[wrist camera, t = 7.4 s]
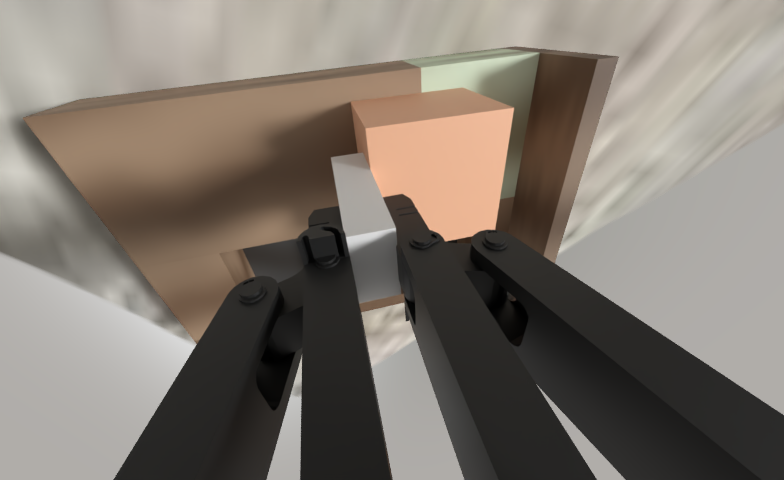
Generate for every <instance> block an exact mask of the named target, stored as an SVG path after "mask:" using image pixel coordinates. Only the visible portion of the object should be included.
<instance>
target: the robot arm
mask: <svg viewBox="0 0 784 480" xmlns="http://www.w3.org/2000/svg"><path fill="white" fill-rule="evenodd" d="M331 161H332V167H333V173H334V179H335V184H336V190H337V196H338V202H339V206H335V207H329V208H323V209H317V210H314V211H313V212H312V213H311V215H310V216H309V218H308V226H309V227H308V229H307V230H305V231H303V232H302V233H301V234H300V235H299V236H298V238H297V241H296V243H297V246H298V249H299V252H300V255H301V259H302V262H303V265H304V268H303V269H302V270H301V271H300V272H298V273H297V274H296V275H294V276H292V277H290V278H288V279H286V280H283V281H281V282H279V283H277V281H276V280H275V279H273V278H272V277H270V276H257V277H252V278H249V279H247V280H244V281H242V282H241V283H239V284H238V285H236V286H235V287H234V288H233V289H232V290H231V291H230V292H229V293H228V295H227V296H226V298H225V300H224V301H223V303H222V304H221V306H220V308H219V309H218V311H217V313H216V314H215V316H214V317H213V319H212V321H211V322H210V324H209V326H208V327H207V329H206V330H205V332H204V334H203V335H202V337H201V339H200V340H199V342H198V343H197V345H196V347H195V349H194V350H193V352H192V353H191V355H190V356H189V358H188V360H187V361H186V363H185V365H184V366H183V368H182V369H181V371H180V373H179V374H178V376H177V378H176V379H175V381H174V382H173V384H172V386H171V387H170V389H169V391H168V392H167V394H166V396H165V397H164V399H163V400H162V402H161V403H160V405H159V407H158V408H157V410H156V412H155V413H154V415H153V416H152V418H151V420H150V421H149V423H148V425H147V426H146V428H145V430H144V431H143V433H142V434H141V436H140V438H139V439H138V441H137V442H136V444H135V446H134V447H133V449H132V451H131V452H130V454H129V455H128V457H127V459H126V460H125V462H124V464H123V465H122V467H121V468H120V470H119V472H118V473H117V475H116V477H115V478H114V480H266V479H267V475H268V472H269V468H270V464H271V461H272V457H273V454H274V450H275V447H276V444H277V440H278V436H279V433H280V429H281V426H282V422H283V419H284V415H285V412H286V408H287V405H288V401H289V398H290V394H291V391H292V387H293V384H294V380H295V377H296V373H297V370H298V366H299V363H300V359H301V356H302V406H301V407H302V408H301V409H302V411H301V471H300V475H301V476H300V480H392V474H391V468H390V463H389V458H388V453H387V448H386V442H385V437H384V432H383V426H382V421H381V416H380V410H379V405H378V399H377V394H376V389H375V384H374V378H373V374H372V368H371V362H370V357H369V352H368V346H367V341H366V336H365V330H364V325H363V320H362V315H361V310H360V305H359V303H363V302H368V301H372V300H377V299H382V298H386V297H391V296H395V295H400V294H401V288H402V290H403V293H404V301H405V315H406V321H409V319H410V322H411V325H412V328H413V331H414V334H415V337H416V340H417V343H418V345H419V348H420V351H421V354H422V357H423V360H424V363H425V366H426V369H427V372H428V375H429V378H430V381H431V383H432V386H433V389H434V392H435V395H436V398H437V400H438V404H439V406H440V410H441V412H442V415H443V418H444V421H445V424H446V427H447V430H448V433H449V436H450V439H451V442H452V444H453V448H454V450H455V453H456V456H457V459H458V462H459V465H460V468H461V470H462V474H463V477H464V479H465V480H597V479H596V478H595V476H594V474H593V473H592V471H591V470H590V468H589V467H588V465H587V463H586V462H585V460H584V459H583V457H582V456H581V454H580V452H579V451H578V449H577V448H576V446H575V445H574V443H573V442H572V440H571V438H570V437H569V435H568V434H567V432H566V431H565V429H564V427H563V426H562V424H561V423H560V421H559V419H558V418H557V416H556V415H555V413H554V412H553V410H552V408H551V407H550V405H549V404H548V402H547V401H546V399H545V398H544V396H543V394H542V393H541V391H540V390H539V388H538V387H537V385H538V386H539V387H540V388H541V389H542V391H543V392H544V393H545V394H546V395H547V396H548V397H549V398H550V399H551V400H552V401H553V402H554V403H555V404H556V405H557V407H558V408H559V409H560V410H561V411H562V412H563V413H564V414H565V415H566V416H567V417H568V418H569V419H570V421H571V422H572V423H573V424H574V425H575V426H576V427H577V428H578V429H579V430H580V431H581V432H582V433H583V434H584V436H585V437H586V438H587V439H588V440H589V441H590V442H591V443H592V444H593V445H594V446H595V447H596V448H597V449H598V451H600V453H601V454H602V455H603V456H604V457H605V458H606V459H607V460H608V461H609V462H610V463H611V464H612V465H613V467H614V468H615V469H616V470H617V471H618V472H619V473H620V474H621V475H622V476H623V477H624V478H625V479H626V480H784V415H783V414H781V413H779V412H778V411H777V410H775V409H773V408H772V407H770V406H769V405H767V404H766V403H764V402H763V401H761V400H760V399H758V398H757V397H755V396H754V395H752V394H751V393H749V392H748V391H746V390H745V389H743V388H742V387H740V386H739V385H737V384H736V383H734V382H733V381H731V380H730V379H728V378H727V377H725V376H724V375H722V374H721V373H719V372H718V371H716V370H715V369H713V368H712V367H710V366H709V365H707V364H706V363H704V362H703V361H701V360H700V359H698V358H697V357H695V356H694V355H692V354H690V353H689V352H687V351H686V350H684V349H683V348H681V347H680V346H678V345H677V344H675V343H674V342H672V341H671V340H669V339H668V338H666V337H665V336H663V335H662V334H660V333H659V332H657V331H656V330H654V329H652V328H651V327H650V326H648V325H647V324H645V323H644V322H642V321H641V320H639V319H638V318H636V317H635V316H633V315H632V314H630V313H629V312H627V311H626V310H624V309H623V308H621V307H619V306H618V305H616V304H615V303H614V302H612V301H610V300H609V299H608V298H606V297H604V296H603V295H601V294H600V293H598V292H597V291H595V290H594V289H592V288H591V287H589V286H588V285H586V284H585V283H583V282H582V281H580V280H579V279H577V278H576V277H574V276H573V275H571V274H570V273H568V272H567V271H565V270H564V269H562V268H560V267H559V266H558V265H556V264H555V263H553V262H552V261H550V260H549V259H547V258H546V257H544V256H543V255H541V254H540V253H538V252H537V251H535V250H534V249H532V248H531V247H529V246H528V245H526V244H525V243H523V242H521V241H520V240H518V239H517V238H515V237H514V236H512V235H511V234H508V233H506V232H504V231H499V230H483V231H479V232H478V233H476V234H474V235H473V237H472V239H471V243H449V242H445V240H444V238H443V237H442V236H441V235H440V234H439V233H437V232H434V231H432V230H429V228H428V226H427V225H426V223H425V221H424V220H423V218H422V216H421V215H420V213H419V212H418V210H417V208H416V207H415V205H414V203H413V201H412V200H411V199H410V198H409V197H407V196H405V195H404V194H398V195H393V196H387V197H382V195H381V192H380V190H379V188H378V186H377V183H376V181H375V179H374V176H373V174H372V172H371V170H370V167H369V165H368V163H367V161H366V158H365V156H364V154H363V153H356V154H349V155H343V156H336V157H331ZM509 293H510V294H509ZM536 384H537V385H536Z"/></svg>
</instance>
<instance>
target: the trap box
mask: <svg viewBox="0 0 784 480" xmlns="http://www.w3.org/2000/svg"><path fill="white" fill-rule="evenodd" d="M618 58H619V57H618V56H607V55H597V54H587V53H577V52H566V51H556V50H546V49H535V48H525V47H508V48H500V49H492V50H483V51H475V52H467V53H459V54H451V55H442V56H434V57H426V58H418V59H409V60H401V61H393V62H385V63H376V64H368V65H360V66H352V67H344V68H335V69H327V70H319V71H311V72H302V73H294V74H286V75H278V76H269V77H261V78H253V79H245V80H236V81H228V82H220V83H212V84H204V85H195V86H187V87H179V88H171V89H162V90H154V91H146V92H138V93H129V94H121V95H113V96H105V97H96V98H88V99H80V100H77V101H73V102H70V103H67V104H64V105H61V106H58V107H55V108H52V109H48V110H45V111H42V112H39V113H36V114H33V115H30V116H27V117H23V119H24V121H25V122H26V123H27V125H28V126H29V127H30V129H31V130H32V131H33V132H34V134H35V135H36V136H37V138H38V139H39V140H40V141H41V143H42V144H43V145H44V147H45V148H46V149H47V151H48V152H49V153H50V154H51V156H52V157H53V158H54V160H55V161H56V162H57V163H58V165H59V166H60V167H61V169H62V170H63V171H64V173H65V174H66V175H67V176H68V178H69V179H70V180H71V182H72V183H73V184H74V186H75V187H76V188H77V189H78V191H79V192H80V193H81V195H82V196H83V197H84V198H85V200H86V201H87V202H88V204H89V205H90V206H91V208H92V209H93V210H94V211H95V213H96V214H97V215H98V217H99V218H100V219H101V220H102V222H103V223H104V224H105V226H106V227H107V228H108V230H109V231H110V232H111V233H112V235H113V236H114V237H115V239H116V240H117V241H118V243H119V244H120V245H121V246H122V248H123V249H124V250H125V252H126V253H127V254H128V255H129V257H130V258H131V259H132V261H133V262H134V263H135V265H136V266H137V267H138V268H139V270H140V271H141V272H142V274H143V275H144V276H145V277H146V279H147V280H148V281H149V283H150V284H151V285H152V287H153V288H154V289H155V290H156V292H157V293H158V294H159V296H160V297H161V298H162V300H163V301H164V302H165V303H166V305H167V306H168V307H169V309H170V310H171V311H172V312H173V314H174V315H175V316H176V318H177V319H178V320H179V322H180V323H181V324H182V325H183V327H184V328H185V329H186V331H187V332H188V333H189V334H190V336H191V337H192V338H193V340H194V341H195V342H196V344H197V343H198V342H199V340H200V339H201V337H202V335H203V334H204V332H205V330H206V329H207V327H208V326H209V324H210V322H211V321H212V319H213V317H214V316H215V314H216V313H217V311H218V309H219V308H220V306H221V304H222V303H223V301H224V300H225V298H226V296H227V295H228V293H229V292H230V291H231V290H232V289H233V288H234V287H235V286H236V285H238V284H239V283H241V282H242V281H244V280H247V279H249V278H252V277H257V276H270V277H272V278H273V279H275V280H276V281H277V283H279V282H281V281H283V280H286V279H288V278H290V277H292V276H294V275H296V274H297V273H298V272H300V271H301V270H302V269H303V268H304V265H303V262H302V259H301V255H300V252H299V249H298V246H297V243H296V241H297V238H298V236H299V235H300V234H301V233H302V232H303V231H305V230H307V229H308V227H309V226H308V218H309V216H310V215H311V213H312V212H313V211H314V210H317V209H323V208H329V207H335V206H339V202H338V196H337V190H336V184H335V179H334V173H333V167H332V161H331V157H336V156H343V155H349V154H356V153H358V151H357V144H356V137H355V130H354V123H353V116H352V109H351V102H352V101H359V100H367V99H375V98H383V97H391V96H399V95H407V94H415V93H423V92H431V91H438V90H446V89H454V88H462V87H463V88H466V89H468V90H471V91H473V92H476V93H478V94H481V95H483V96H486V97H488V98H491V99H493V100H496V101H498V102H501V103H503V104H506V105H509V106H511V107H514V112H513V118H512V125H511V131H510V138H509V144H508V150H507V157H506V163H505V170H504V176H503V183H502V189H501V195H500V202H499V208H498V215H497V221H496V227H495V230H499V231H504V232H506V233H508V234H511V235H512V236H514V237H515V238H517V239H518V240H520V241H521V242H523V243H525V244H526V245H528V246H529V247H531V248H532V249H534V250H535V251H537V252H538V253H540V254H541V255H543V256H544V257H546V258H547V259H549V260H550V261H552V262H553V263H555V260H556V257H557V254H558V251H559V248H560V244H561V241H562V238H563V235H564V231H565V228H566V225H567V222H568V219H569V215H570V212H571V209H572V206H573V203H574V199H575V196H576V193H577V190H578V186H579V183H580V180H581V177H582V174H583V170H584V167H585V164H586V161H587V158H588V154H589V151H590V148H591V145H592V141H593V138H594V135H595V132H596V129H597V125H598V122H599V119H600V116H601V113H602V109H603V106H604V103H605V100H606V96H607V93H608V90H609V87H610V84H611V80H612V77H613V74H614V71H615V68H616V64H617V61H618ZM472 237H473V236H471V237H466V238H461V239H456V240H451V241H445V242H449V243H471V239H472ZM509 294H510V293H509ZM403 302H405V301H404V293H403V290H402V288H401V294H400V295H395V296H391V297H386V298H382V299H377V300H372V301H368V302H363V303H359V305H360V310H361V312H364V311H369V310H373V309H377V308H382V307H386V306H390V305H395V304H399V303H403Z"/></svg>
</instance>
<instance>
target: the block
mask: <svg viewBox="0 0 784 480" xmlns="http://www.w3.org/2000/svg"><path fill="white" fill-rule="evenodd" d="M351 109H352V116H353V123H354V130H355V137H356V144H357V151H358V153H363V154H364V156H365V158H366V161H367V163H368V165H369V167H370V170H371V172H372V174H373V176H374V179H375V181H376V183H377V186H378V188H379V190H380V192H381V195H382V197H387V196H393V195H398V194H404V195H405V196H407V197H409V198H410V199H411V200H412V201H413V203H414V205H415V207H416V208H417V210H418V212H419V213H420V215H421V216H422V218H423V220H424V221H425V223H426V225H427V226H428V228H429V230H432V231H434V232H437V233H439V234H440V235H441V236H442V237H443V238H444V240H445V241H451V240H456V239H461V238H466V237H471V236H473V235H474V234H476V233H478V232H479V231H483V230H495V227H496V221H497V215H498V208H499V202H500V195H501V189H502V183H503V176H504V170H505V163H506V157H507V150H508V144H509V138H510V131H511V125H512V118H513V112H514V107H511V106H509V105H506V104H503V103H501V102H498V101H496V100H493V99H491V98H488V97H486V96H483V95H481V94H478V93H476V92H473V91H471V90H468V89H466V88H463V87H462V88H454V89H446V90H438V91H431V92H423V93H415V94H407V95H399V96H391V97H383V98H375V99H367V100H359V101H352V102H351Z"/></svg>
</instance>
